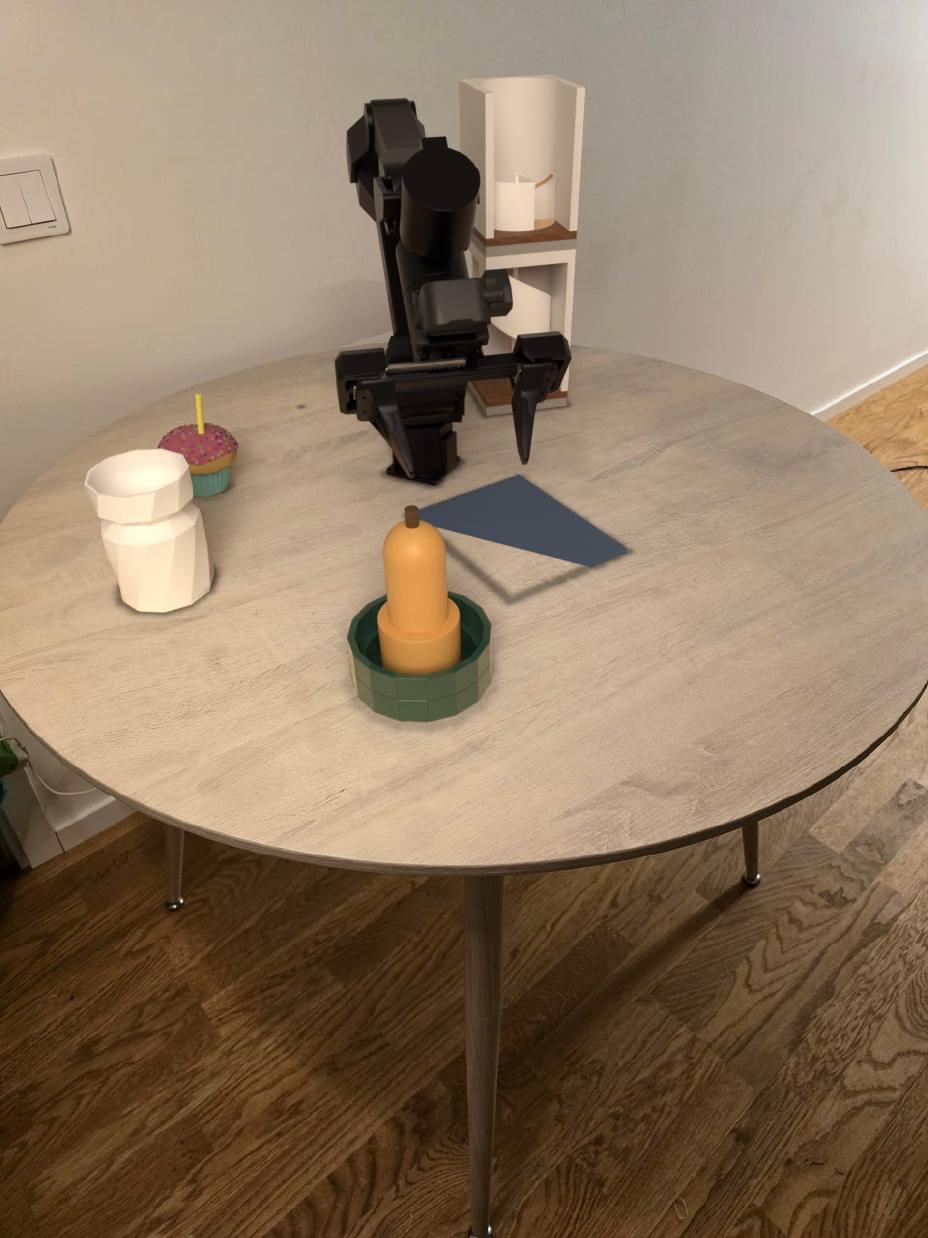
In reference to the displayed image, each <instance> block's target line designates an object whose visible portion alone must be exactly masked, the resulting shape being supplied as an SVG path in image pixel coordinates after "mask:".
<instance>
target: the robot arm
mask: <svg viewBox="0 0 928 1238" xmlns="http://www.w3.org/2000/svg"><path fill="white" fill-rule="evenodd" d="M417 112H418V111H417V106H416V102H415V100H409V99H408V98H407V97H396V98H379V99H378V98H377V99H370V101H369V102H364V103H363V115H362V116H361V117H360V118H359V119H358V120H357V121H355V122H354V123H353V124H352V125H351V126H350V127H349V128H348V129H347V131H346V138H345V139H346V140H345V141H346V144H345V147H346V148H345V150H346V151H345V152H346V153H345V154H346V155H345V156H346V167H347V175H348V180H349V183H350V184H355V189H356V195H357V201H358V205H359V206H360V208H361V209H362V210H363V211H364V212H365V213H366V214H367V215H368V216H369V217H370V218H371V219H372V220H373V222H375V225H376V230H377V238H378V245H379V250H380V257H381V263H382V271H383V276H384V284H385V289H386V296H387V303H388V308H389V315H390V322H391V328H392V335H391V336H390V337H389V339H388V342H387V347H386V349H384V346H383V347H371V348H360V349H352V350H351V349H350V350H341V351H339V352H338V354H337V356H336V357H335V359H334V371H335V372H334V373H335V385H336V393H337V401H338V407H339V413H341V414H344V415H356V419H357V420H358V422H369V423H370V424H371V425H372V426H373V427H374V429H375V430H376V431H377V432H378V434H379V435H381V437H382V438H383V439H384V440H385V442H386V444H387V445H388V447H389V449H390V450H391V452H392V453H391V454H392V463H391V464H390V465H389V466H388V467H386V469H385V472H386V475H389V476H393V477H396V478H401V479H405V480H409V481H414V482H417V483H422V484H426V485H430V486H435V485H438V484H439V483H440V482H442V480H443V479H444V478H445V477H446V476H447V475H448V474H450V473H451V472H452V470H454V469H455V468H456V467H457V465H459V464H460V463H461V457H460V456H459V455H458V433H457V432H456V431H455V430H454V423H457V424H459V423H463V416H465V415H466V408H465V405H466V403H465V402H466V395H467V390H468V387H469V386H468V382H472V381H482V380H492V379H502V378H510V383H511V388H512V390H514V394H513V397H512V400H511V405H512V412H513V413H512V419H513V426H514V435H515V440H516V447H517V453H518V456H519V459H520V463H521V465H522V466H525V465H528V463H529V460H530V455H531V447H532V439H533V433H534V424H535V417H536V411H537V410H536V406H537V403H541V402H544V401H545V400H546V398H547V396H548V394H551V393H553V392H555V391H557V390H559V387H560V385H561V383H562V380H563V378H564V376H565V373H566V371H567V368H568V366H569V367H570V363H571V362H572V358H573V357H572V352H571V346H570V347H569V343H568V340H567V339H566V338H565V337H564V336H563V335H562V334H561V333H560V332H558V331H552V332H541V333H531V334H520V335H518V336H517V339H516V342H515V346H514V349H513V352H512V353H504V354H494V355H484V352H483V347H482V346H485V345H488V341H489V332H488V327H487V325H488V324H490V323H491V317H501V316H507V315H508V313H509V312H510V311H511V310H512V308H513V297H512V288H511V283H510V279H509V275H508V271H507V268H503V269H491V270H485V271H484V274H483V275H482V276H481V278H472V277H470V275H469V269H468V264H467V259H466V258H467V257H466V254H465V252H466V251H469V250H468V248H469V246H470V242H471V238H472V232H473V226H474V220H475V214H476V208H477V204H480V198H479V190H480V184H481V183H480V173H479V170H478V168H476V167H475V165H474V163H473V162H472V161H471V160H470V159H469V158H468V157H467V156H465V155H464V154H462V153H461V152H460V150H456V149H453V148H452V147H449V144H448V140H447V139H448V138H447V136H445V135H443V136H426V128H425V125H424V124H423V123H422V122H421V121H420V120H419V118H418V114H417Z"/></svg>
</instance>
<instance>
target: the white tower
mask: <svg viewBox="0 0 928 1238" xmlns="http://www.w3.org/2000/svg"><path fill="white" fill-rule="evenodd" d="M458 94H459V96H458V98H459V99H458V100H459V101H458V103H459V104H458V105H459V106H458V107H459V148H460V150H459V152H461V153H462V154H464V155H465V156H467V157H468V158H469V159H470V160H471V161H472V162H473V163H474V165H475V167H476V168H478V170H479V173H480V183H481V184H480V190H479V198H480V204H477V208H476V214H475V220H474V226H473V232H472V238H471V242H470V246H469V248H468V250H467V251H468V252H469V253H470V254H471V278H481V276H482V275H483V274H484V271H485V270H491V269H503V268H507V271H508V275H509V279H510V283H511V288H512V297H513V308H512V310H511V311H510V312H509V313H508V315H507V316H501V317H491V323H490V324H488V325H487V327H488V332H489V341H488V345H485V346H482V347H483V352H484V355H494V354H504V353H512V352H513V349H514V346H515V342H516V339H517V336H518V335H520V334H531V333H541V332H552V331H558V332H560V333H561V334H562V335H563V336H564V337H565V338H566V339H567V340H568V343H569V347H570V348H571V345H572V344H571V343H572V342H571V341H572V328H573V327H572V326H573V325H572V324H573V307H574V291H575V290H574V289H575V272H576V256H577V237H578V223H579V222H578V221H579V205H580V203H579V202H580V186H581V172H582V171H581V169H582V168H581V167H582V154H583V153H582V151H583V137H584V117H585V101H586V100H585V99H586V97H585V96H586V87H585V86H582V85H579V84H578V83H574V82H572V81H569V80H567V79H564V78H561V77H559V76H556V75H553V74H551V73H549V74H533V75H531V74H529V75H514V76H513V75H511V76H496V77H480V78H479V77H477V78H461V79H458ZM569 376H570V365H569V366H568V368H567V371H566V373H565V376H564V378H563V380H562V383H561V385H560V387H559V390H557V391H555V392H553V393H551V394H548V396H547V398H546V400H545V401H544V402H541V403H537V406H536V411H537V410H538V411H539V410H544V409H554V408H560V407H567V406H568V396H569V394H568V393H569ZM467 387H468V388H469V390H470V391H471V393H472V395H473V396H474V398H475V399H476V401H477V402H478V405H479V406H480V407H481V409H482V411H483V413H484V414H485V416H486V417H490V416H498V415H499V416H500V415H505V414H506V415H507V414H513V412H512V405H511V400H512V397H513V394H514V390H512V388H511V383H510V378H502V379H492V380H482V381H472V382H468V386H467Z"/></svg>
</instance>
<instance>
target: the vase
mask: <svg viewBox="0 0 928 1238" xmlns="http://www.w3.org/2000/svg"><path fill="white" fill-rule="evenodd" d="M83 485H84V489H85V491H86V494H87V497H88V499H89V501H90V503H91V505H92V507H93V510H94V511H95V513H96V515H97V517H98V518H100V519H102V520H101V521H100V531H101V539H102V543H103V546H104V549H105V553H106V556H107V558H108V561H109V564H110V566H111V568H112V570H113V572H114V574H115V576H116V579H117V583H118V587H119V591H120V596H121V599H122V602H123V603H125V604H126V605H127V606H129V607H131V608H133V609H135V610H136V611H137V612H145V613H167V612H170V611H175V610H177V609H181V608H184V607H188V606H192V605H193V604H194V603H195V602H197V601H198V600H199V599H201V598H202V597H203V596H205V595H206V594H207V593H209V592H210V591H211V587H212V584H213V580H214V577H215V567H214V564H213V560H212V556H211V553H210V548H209V546H208V543H207V538H206V533H205V527H204V522H203V517H202V512H201V509H200V508H199V507H198V506H197V504H196V503H194V502H193V500H192V499H193V498H194V496H193V483H192V480H191V476H190V470H189V466H188V464H187V462H186V460H185V458H184V457H183V455H182V454H179V453H175V452H172V451H169V450H165V449H157V448H143V449H132V450H129V451H126V452H125V451H124V452H122V453H119V454H115V455H111V456H108V457H106V458H104V459H103V460H102V461H100V462H98V463H97V464H96V465H94V466H93V467H91V468H90V469H88V470H87V473H86V477H85V481H84V483H83Z"/></svg>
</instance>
